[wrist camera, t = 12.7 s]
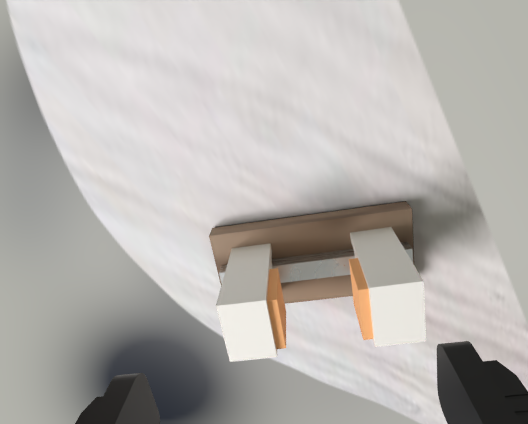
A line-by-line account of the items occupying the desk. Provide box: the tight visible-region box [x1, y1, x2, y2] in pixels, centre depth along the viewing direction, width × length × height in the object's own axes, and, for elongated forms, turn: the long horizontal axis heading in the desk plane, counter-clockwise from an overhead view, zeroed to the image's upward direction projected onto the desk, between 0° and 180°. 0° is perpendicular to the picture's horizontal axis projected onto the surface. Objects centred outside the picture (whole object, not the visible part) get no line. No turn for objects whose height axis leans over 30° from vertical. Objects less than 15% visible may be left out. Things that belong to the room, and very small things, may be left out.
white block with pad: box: [349, 227, 426, 347], centre depth 36 cm, size 6×5×10 cm
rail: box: [209, 201, 414, 362], centre depth 37 cm, size 9×20×12 cm, turn 100°
